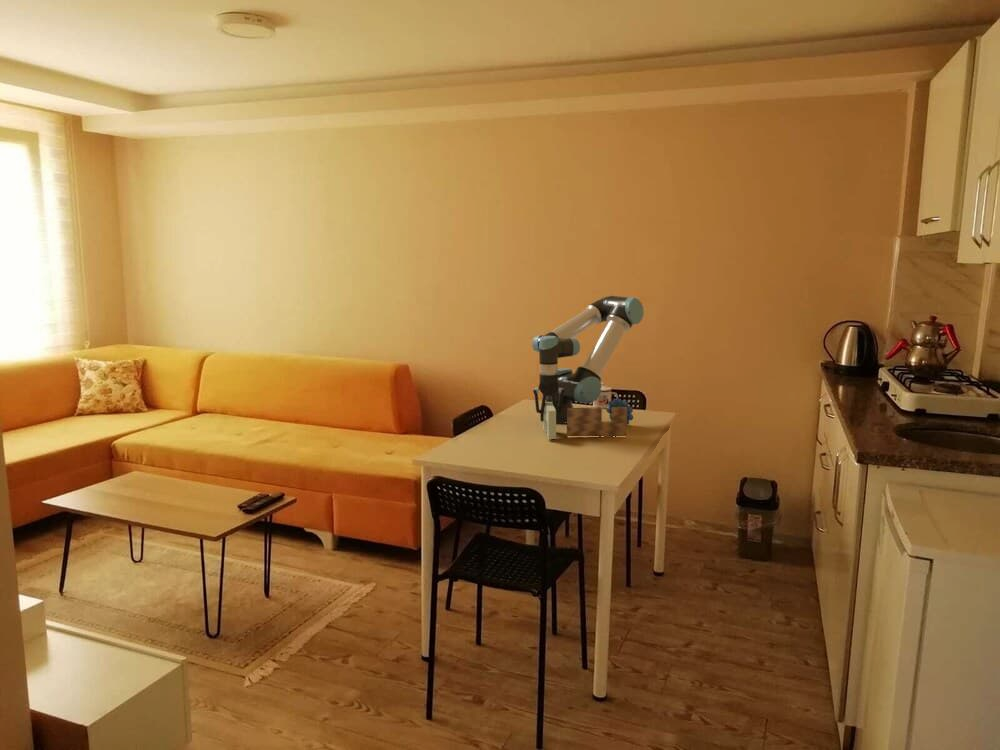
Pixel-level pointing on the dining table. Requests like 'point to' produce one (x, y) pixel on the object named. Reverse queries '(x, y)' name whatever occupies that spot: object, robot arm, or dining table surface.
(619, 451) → the dining table surface
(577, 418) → the slotted board
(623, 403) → the grapes
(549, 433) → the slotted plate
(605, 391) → the teacup with lid
